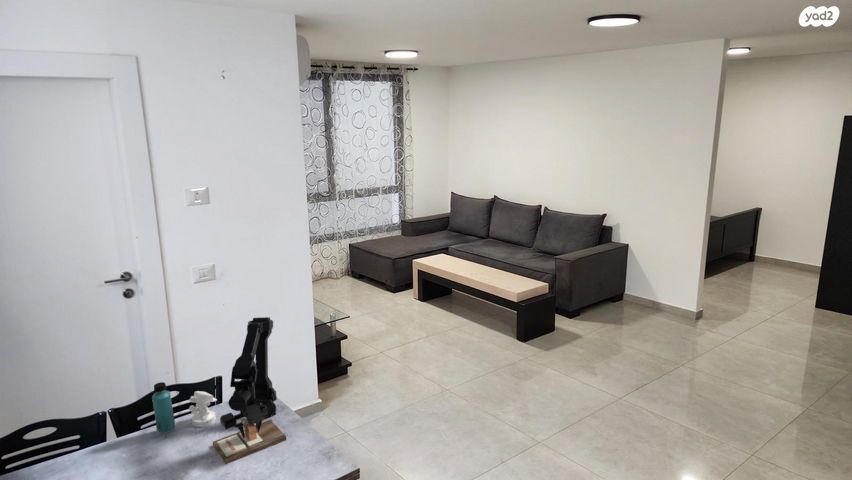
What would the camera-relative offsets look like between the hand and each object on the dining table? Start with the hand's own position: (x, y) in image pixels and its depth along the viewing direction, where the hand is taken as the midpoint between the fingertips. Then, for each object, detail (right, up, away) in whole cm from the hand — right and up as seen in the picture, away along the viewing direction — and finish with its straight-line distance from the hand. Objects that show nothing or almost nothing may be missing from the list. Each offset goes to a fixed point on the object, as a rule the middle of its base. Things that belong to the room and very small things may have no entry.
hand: (250, 434), depth 194 cm
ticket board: (-1, -3, 0) cm, 3 cm away
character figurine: (-23, 0, +15) cm, 28 cm away
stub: (0, -1, 0) cm, 1 cm away
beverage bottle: (-34, -2, +8) cm, 35 cm away
